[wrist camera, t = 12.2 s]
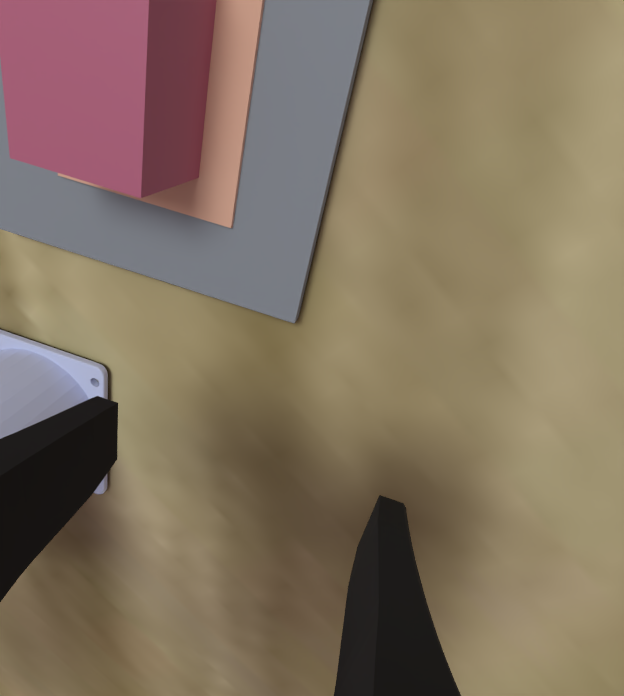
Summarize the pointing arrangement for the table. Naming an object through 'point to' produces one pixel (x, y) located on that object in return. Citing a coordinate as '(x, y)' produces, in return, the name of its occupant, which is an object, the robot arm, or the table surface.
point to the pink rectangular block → (108, 88)
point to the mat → (223, 165)
